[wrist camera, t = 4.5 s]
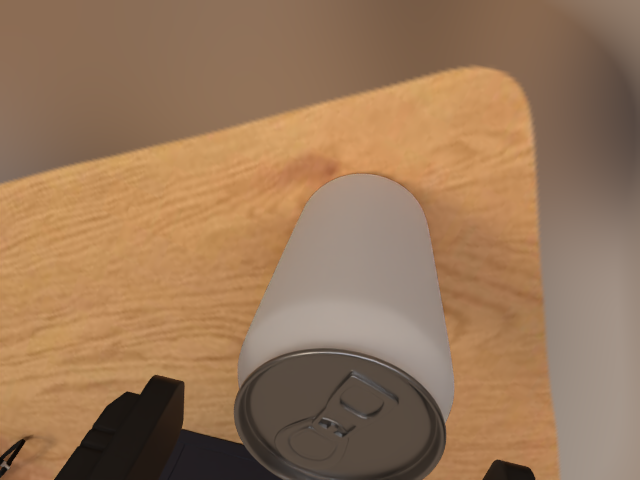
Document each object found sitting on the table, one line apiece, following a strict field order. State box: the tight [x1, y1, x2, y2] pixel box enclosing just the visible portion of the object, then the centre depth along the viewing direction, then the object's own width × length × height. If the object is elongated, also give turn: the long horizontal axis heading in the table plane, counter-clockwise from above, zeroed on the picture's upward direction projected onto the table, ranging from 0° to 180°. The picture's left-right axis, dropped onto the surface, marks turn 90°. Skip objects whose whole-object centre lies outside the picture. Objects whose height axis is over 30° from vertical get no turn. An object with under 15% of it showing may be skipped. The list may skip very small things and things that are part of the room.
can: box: [234, 174, 454, 480], centre depth 16 cm, size 6×6×12 cm
